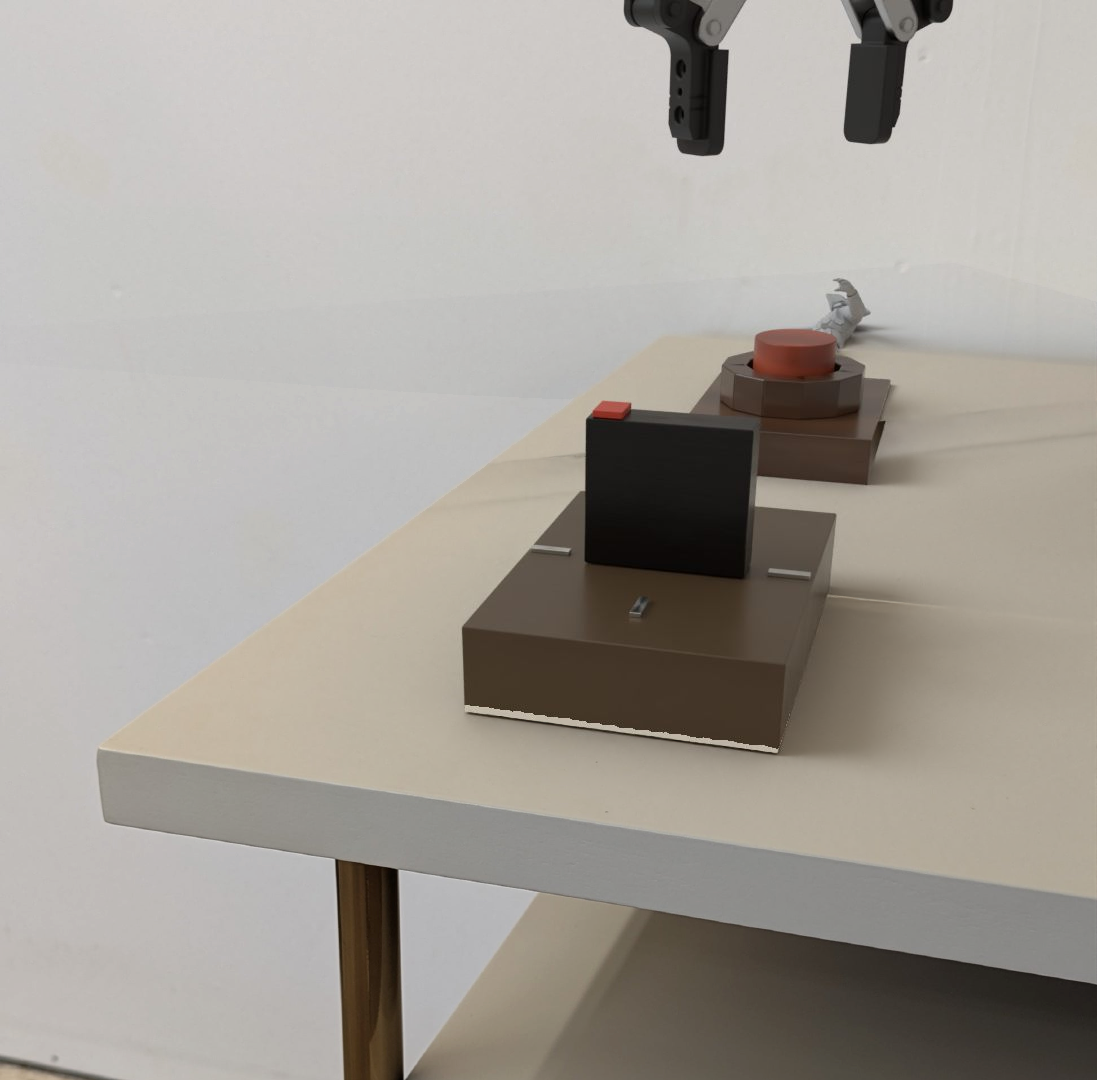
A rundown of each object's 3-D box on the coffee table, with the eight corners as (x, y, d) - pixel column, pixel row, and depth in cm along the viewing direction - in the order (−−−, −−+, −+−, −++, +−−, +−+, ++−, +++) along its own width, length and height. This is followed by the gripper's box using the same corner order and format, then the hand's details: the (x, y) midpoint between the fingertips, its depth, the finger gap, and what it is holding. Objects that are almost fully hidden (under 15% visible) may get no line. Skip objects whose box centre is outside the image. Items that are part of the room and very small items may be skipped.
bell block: (720, 408, 77) (724, 334, 76) (886, 420, 75) (894, 344, 73) (676, 470, 67) (680, 387, 65) (866, 486, 65) (876, 400, 63)
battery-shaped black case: (751, 562, 48) (761, 410, 45) (743, 579, 46) (754, 423, 44) (595, 547, 49) (597, 398, 47) (583, 562, 48) (585, 410, 45)
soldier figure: (716, 409, 81) (761, 306, 89) (776, 463, 82) (814, 357, 90) (812, 327, 76) (850, 225, 83) (874, 387, 77) (906, 281, 85)
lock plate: (579, 561, 56) (580, 486, 55) (829, 587, 54) (837, 508, 52) (463, 713, 45) (460, 621, 43) (778, 754, 42) (786, 659, 41)
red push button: (759, 361, 72) (761, 326, 71) (837, 366, 71) (841, 331, 70) (746, 379, 68) (749, 343, 68) (829, 385, 67) (832, 348, 67)
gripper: (898, -313, 55) (857, 134, 62) (590, -353, 49) (586, 150, 56) (1047, -350, 49) (982, 147, 57) (719, -400, 43) (695, 167, 50)
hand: (785, 148), depth 56 cm, fingers open, 8 cm apart
